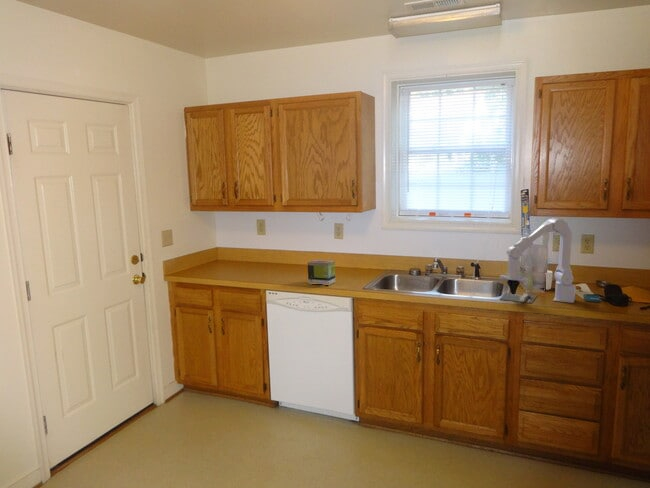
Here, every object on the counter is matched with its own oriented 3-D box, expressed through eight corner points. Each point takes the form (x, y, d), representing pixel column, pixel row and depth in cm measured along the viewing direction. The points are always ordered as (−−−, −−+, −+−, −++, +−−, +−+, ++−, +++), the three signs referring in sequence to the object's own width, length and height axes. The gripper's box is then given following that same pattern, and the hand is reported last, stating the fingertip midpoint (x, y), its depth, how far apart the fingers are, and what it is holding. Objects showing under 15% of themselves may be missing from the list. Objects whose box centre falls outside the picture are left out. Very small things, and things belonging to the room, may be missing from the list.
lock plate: (536, 296, 260) (536, 295, 260) (531, 303, 247) (531, 302, 247) (505, 293, 268) (506, 292, 268) (499, 299, 256) (499, 298, 256)
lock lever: (524, 295, 260) (524, 291, 259) (531, 296, 257) (531, 292, 257) (517, 301, 248) (517, 297, 248) (524, 302, 246) (525, 298, 246)
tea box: (335, 282, 306) (335, 260, 304) (328, 286, 298) (328, 263, 295) (315, 281, 313) (314, 259, 311) (307, 284, 305) (307, 262, 302)
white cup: (553, 287, 277) (553, 270, 275) (550, 290, 271) (551, 273, 269) (538, 286, 281) (539, 269, 280) (535, 289, 275) (536, 272, 273)
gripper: (497, 268, 252) (496, 293, 255) (524, 272, 242) (523, 297, 244) (503, 266, 257) (503, 290, 259) (530, 269, 247) (529, 295, 249)
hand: (513, 294), depth 252 cm, fingers closed
